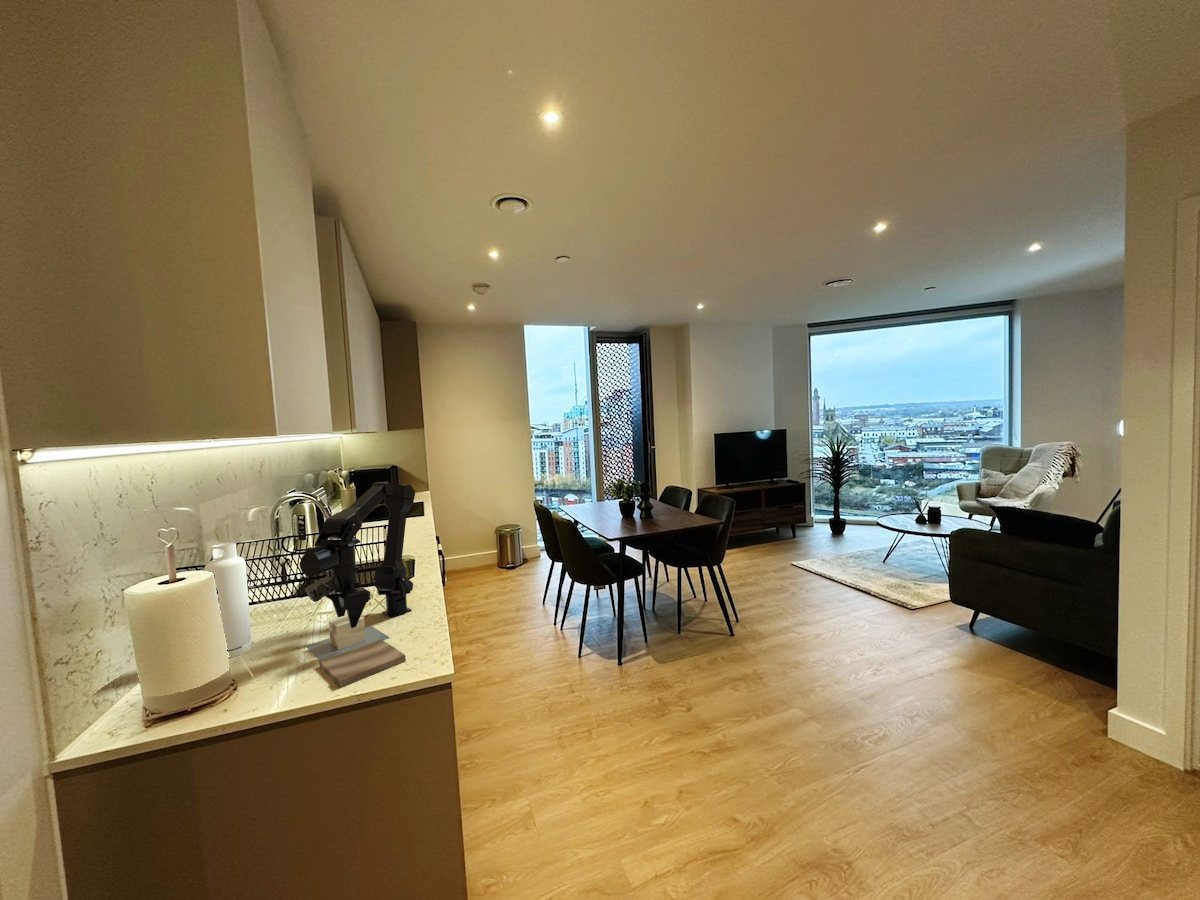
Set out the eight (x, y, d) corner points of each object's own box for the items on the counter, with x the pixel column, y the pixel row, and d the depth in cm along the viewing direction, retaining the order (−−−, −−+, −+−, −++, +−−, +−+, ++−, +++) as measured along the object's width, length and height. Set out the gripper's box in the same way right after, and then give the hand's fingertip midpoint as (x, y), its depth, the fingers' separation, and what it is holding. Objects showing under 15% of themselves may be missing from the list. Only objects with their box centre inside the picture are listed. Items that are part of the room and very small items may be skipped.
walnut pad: (319, 667, 103) (319, 661, 103) (381, 644, 114) (381, 639, 113) (340, 688, 94) (339, 681, 94) (405, 661, 104) (405, 655, 104)
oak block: (330, 642, 116) (328, 620, 116) (356, 634, 120) (355, 612, 120) (338, 650, 111) (337, 626, 111) (365, 640, 116) (364, 617, 116)
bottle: (259, 644, 118) (252, 540, 117) (234, 659, 110) (226, 547, 109) (229, 645, 118) (221, 541, 117) (202, 660, 110) (193, 549, 109)
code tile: (305, 646, 115) (304, 645, 115) (369, 625, 126) (369, 624, 126) (321, 663, 105) (321, 662, 105) (390, 638, 117) (390, 637, 117)
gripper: (297, 566, 116) (301, 625, 116) (319, 579, 103) (323, 644, 104) (343, 556, 124) (347, 611, 124) (369, 567, 111) (373, 627, 112)
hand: (347, 623), depth 116 cm, fingers open, 9 cm apart
